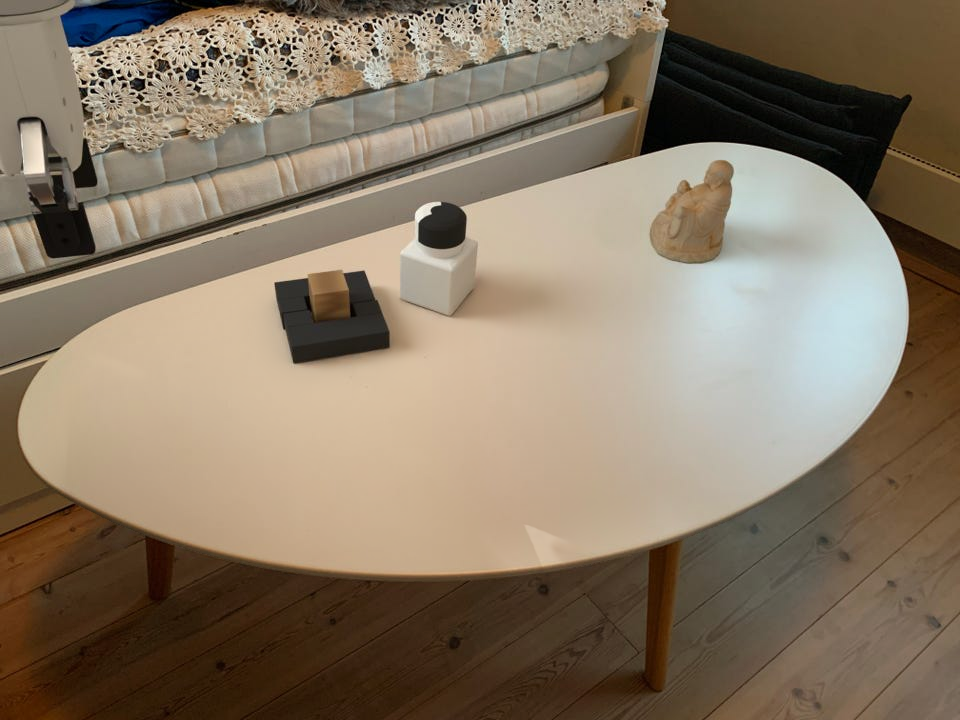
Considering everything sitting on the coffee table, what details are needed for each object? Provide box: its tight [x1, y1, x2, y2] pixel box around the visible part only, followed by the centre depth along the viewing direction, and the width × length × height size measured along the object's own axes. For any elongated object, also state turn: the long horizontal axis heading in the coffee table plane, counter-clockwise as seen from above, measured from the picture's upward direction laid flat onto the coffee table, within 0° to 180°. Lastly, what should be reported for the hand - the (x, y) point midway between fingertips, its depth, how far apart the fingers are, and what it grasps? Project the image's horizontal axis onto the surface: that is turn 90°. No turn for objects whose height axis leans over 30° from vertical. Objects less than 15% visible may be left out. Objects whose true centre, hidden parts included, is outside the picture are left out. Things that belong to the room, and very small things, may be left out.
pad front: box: [283, 299, 391, 364], centre depth 89 cm, size 11×6×2 cm, turn 109°
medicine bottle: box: [399, 201, 479, 317], centre depth 94 cm, size 7×7×12 cm
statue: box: [649, 159, 735, 264], centre depth 108 cm, size 12×14×10 cm
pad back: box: [273, 269, 376, 330], centre depth 94 cm, size 11×6×2 cm, turn 109°
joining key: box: [307, 269, 351, 323], centre depth 90 cm, size 4×4×6 cm
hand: (74, 218), depth 59 cm, fingers open, 9 cm apart
